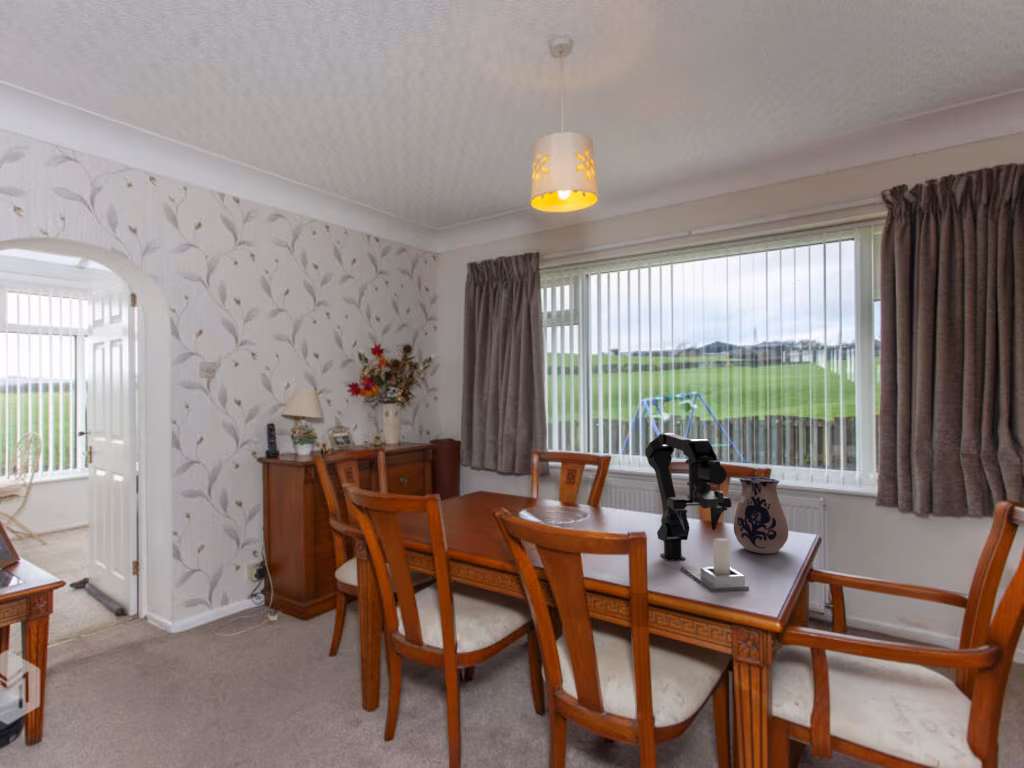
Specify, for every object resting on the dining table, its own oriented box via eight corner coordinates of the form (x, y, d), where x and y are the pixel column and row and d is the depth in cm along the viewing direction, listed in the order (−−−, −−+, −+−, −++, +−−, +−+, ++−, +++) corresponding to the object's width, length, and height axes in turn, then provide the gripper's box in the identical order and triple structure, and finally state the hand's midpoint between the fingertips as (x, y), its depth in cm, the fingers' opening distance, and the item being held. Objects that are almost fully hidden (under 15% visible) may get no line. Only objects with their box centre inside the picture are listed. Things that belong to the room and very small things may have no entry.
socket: (680, 569, 173) (680, 556, 173) (713, 567, 175) (713, 554, 175) (711, 592, 153) (711, 577, 153) (748, 590, 154) (748, 575, 154)
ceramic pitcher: (731, 554, 189) (730, 481, 190) (737, 539, 208) (736, 473, 209) (788, 560, 181) (786, 484, 182) (789, 545, 200) (788, 476, 200)
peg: (712, 579, 161) (711, 538, 161) (727, 579, 160) (726, 538, 160) (716, 584, 156) (715, 541, 157) (732, 584, 156) (731, 542, 156)
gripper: (680, 484, 161) (681, 538, 161) (740, 482, 164) (741, 535, 163) (665, 479, 173) (666, 529, 172) (722, 477, 175) (723, 526, 174)
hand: (699, 530), depth 170 cm, fingers open, 9 cm apart
